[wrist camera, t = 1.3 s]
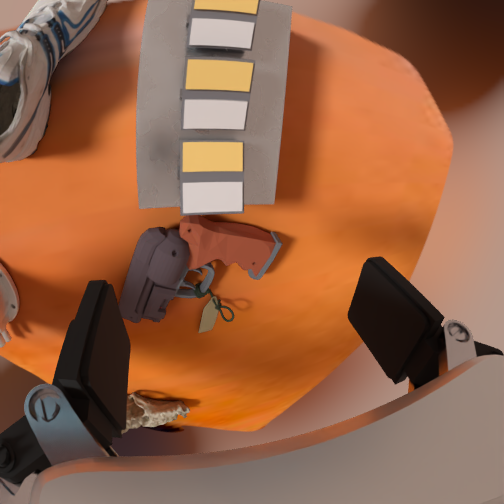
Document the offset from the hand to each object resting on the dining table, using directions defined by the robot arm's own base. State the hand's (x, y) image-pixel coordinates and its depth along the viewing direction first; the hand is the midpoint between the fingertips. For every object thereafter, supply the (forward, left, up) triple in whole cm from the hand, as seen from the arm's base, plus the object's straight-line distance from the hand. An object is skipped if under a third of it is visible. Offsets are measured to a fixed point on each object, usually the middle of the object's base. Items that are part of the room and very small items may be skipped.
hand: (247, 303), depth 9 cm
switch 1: (+14, 0, -13) cm, 19 cm away
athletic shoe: (+15, +17, -22) cm, 31 cm away
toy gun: (-13, +1, -22) cm, 25 cm away
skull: (-42, +13, -22) cm, 49 cm away
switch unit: (+8, 0, -21) cm, 23 cm away
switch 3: (+1, 0, -13) cm, 13 cm away
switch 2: (+8, 0, -13) cm, 15 cm away
